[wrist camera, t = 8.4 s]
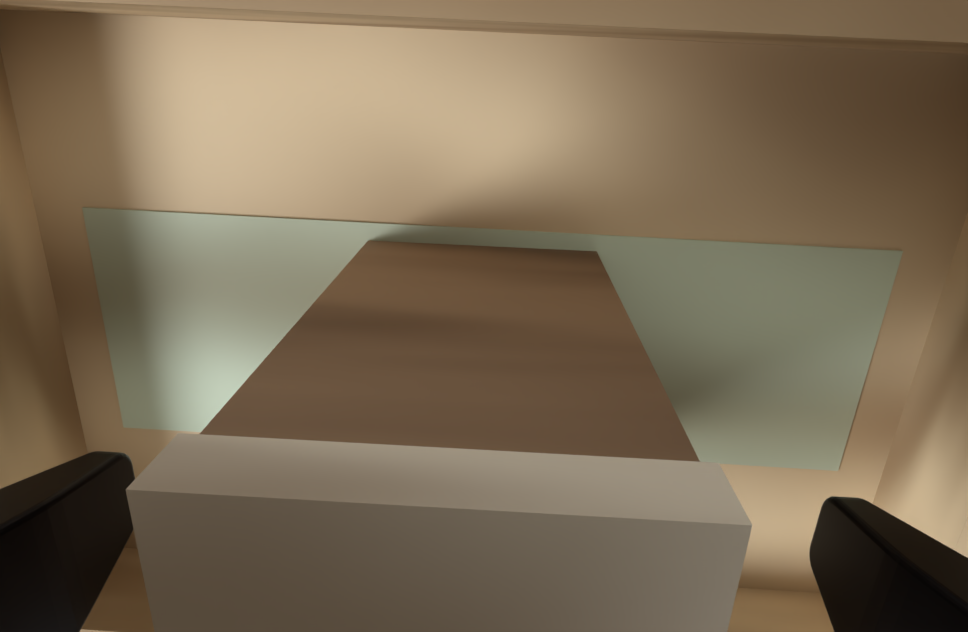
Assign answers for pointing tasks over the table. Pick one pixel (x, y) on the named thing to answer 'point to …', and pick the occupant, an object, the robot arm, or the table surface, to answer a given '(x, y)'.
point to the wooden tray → (505, 222)
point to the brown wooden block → (445, 466)
